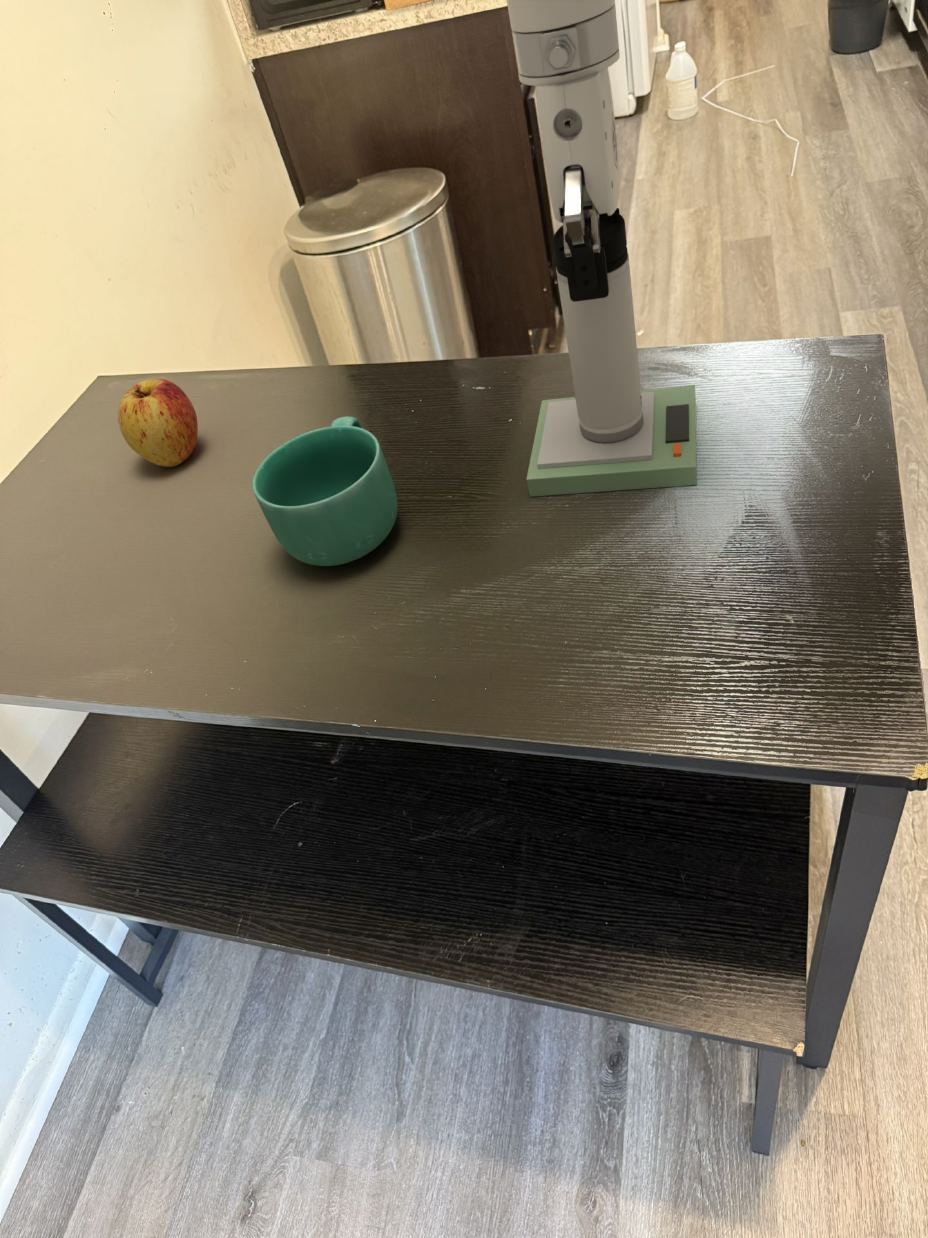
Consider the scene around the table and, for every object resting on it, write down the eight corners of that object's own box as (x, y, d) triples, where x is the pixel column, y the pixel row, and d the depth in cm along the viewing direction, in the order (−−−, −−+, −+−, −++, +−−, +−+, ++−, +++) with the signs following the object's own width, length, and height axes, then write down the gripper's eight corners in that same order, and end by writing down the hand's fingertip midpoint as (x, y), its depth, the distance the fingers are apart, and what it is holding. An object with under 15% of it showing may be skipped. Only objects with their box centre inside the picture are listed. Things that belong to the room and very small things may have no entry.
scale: (695, 402, 91) (694, 378, 89) (697, 485, 81) (695, 460, 79) (544, 417, 95) (540, 395, 93) (529, 497, 86) (524, 474, 84)
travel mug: (658, 414, 86) (642, 208, 72) (618, 450, 83) (594, 243, 69) (606, 400, 89) (582, 202, 76) (567, 434, 87) (535, 235, 73)
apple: (221, 456, 105) (184, 383, 98) (151, 489, 103) (109, 417, 96) (201, 427, 111) (165, 357, 104) (135, 458, 109) (95, 388, 102)
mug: (382, 585, 81) (351, 506, 75) (267, 582, 85) (228, 507, 79) (433, 477, 92) (410, 399, 85) (329, 478, 96) (299, 405, 90)
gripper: (611, 69, 57) (633, 314, 68) (623, 4, 68) (641, 224, 80) (499, 92, 59) (540, 326, 71) (530, 26, 70) (560, 236, 82)
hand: (593, 271), depth 75 cm, fingers open, 9 cm apart
